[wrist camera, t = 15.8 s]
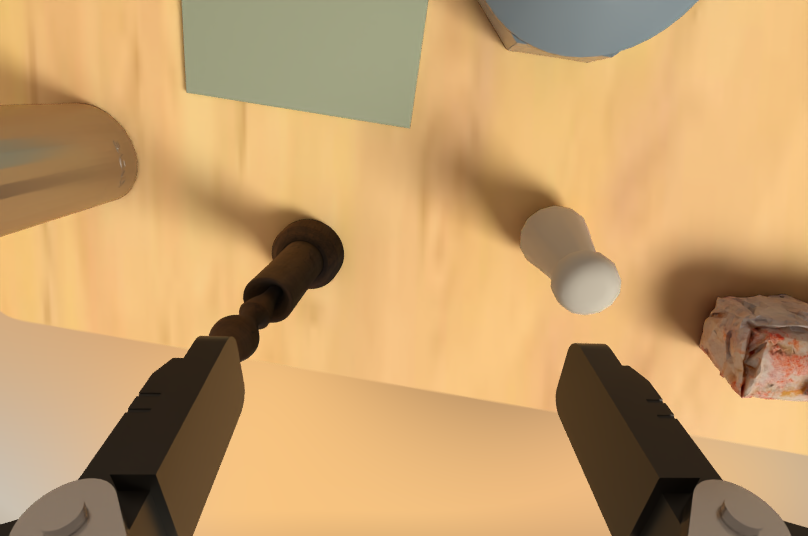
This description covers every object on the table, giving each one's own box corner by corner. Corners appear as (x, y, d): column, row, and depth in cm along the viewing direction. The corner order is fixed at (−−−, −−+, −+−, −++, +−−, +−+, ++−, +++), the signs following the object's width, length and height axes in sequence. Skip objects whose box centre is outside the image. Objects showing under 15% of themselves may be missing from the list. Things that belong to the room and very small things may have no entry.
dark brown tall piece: (272, 264, 44) (163, 370, 27) (289, 208, 41) (181, 286, 25) (332, 289, 44) (261, 408, 28) (353, 234, 42) (288, 329, 25)
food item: (682, 355, 43) (744, 425, 34) (702, 282, 40) (776, 338, 31) (831, 361, 42) (937, 437, 33) (863, 287, 39) (990, 347, 30)
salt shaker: (509, 253, 41) (533, 320, 29) (524, 194, 38) (557, 241, 27) (570, 264, 41) (619, 337, 29) (589, 206, 38) (652, 258, 26)
